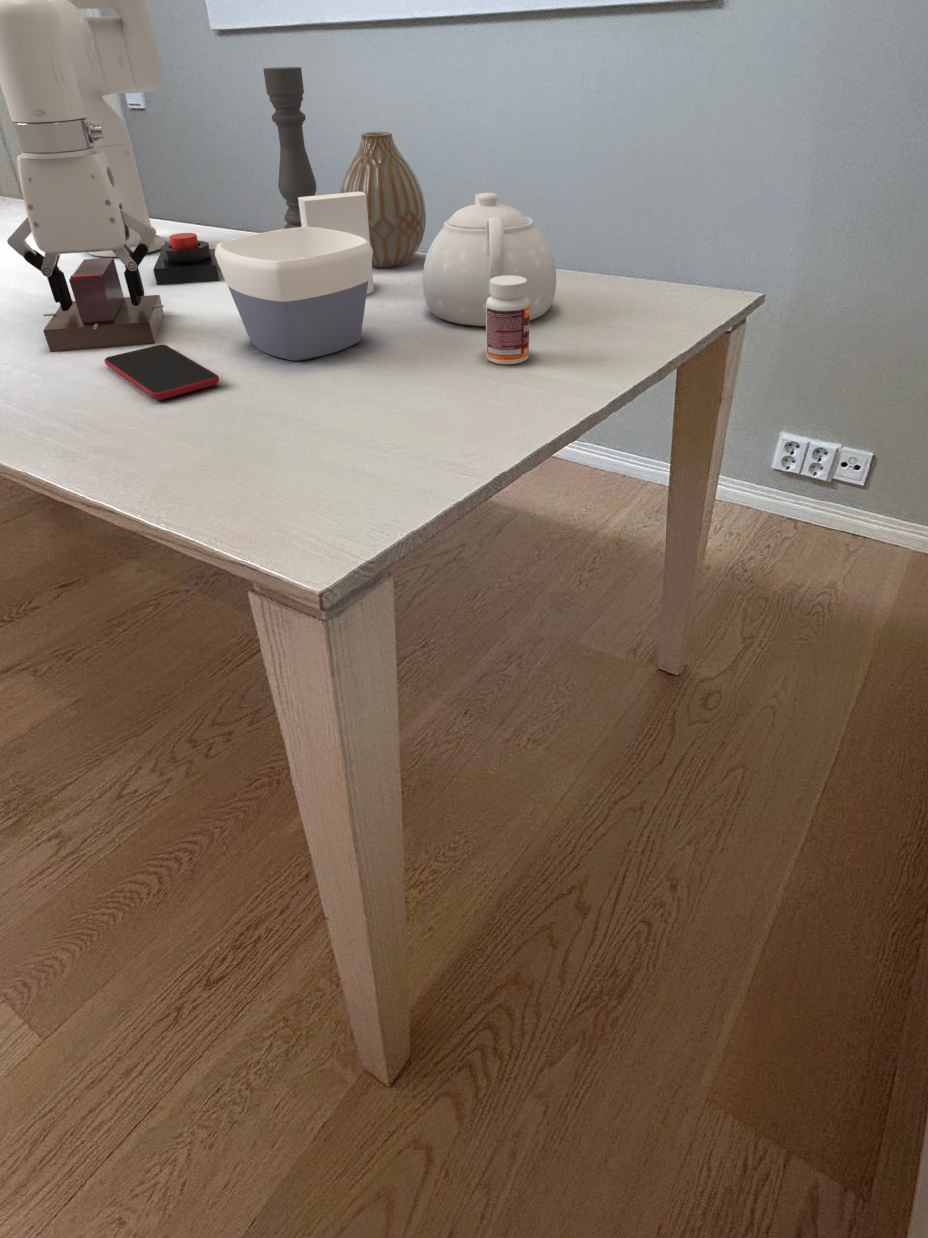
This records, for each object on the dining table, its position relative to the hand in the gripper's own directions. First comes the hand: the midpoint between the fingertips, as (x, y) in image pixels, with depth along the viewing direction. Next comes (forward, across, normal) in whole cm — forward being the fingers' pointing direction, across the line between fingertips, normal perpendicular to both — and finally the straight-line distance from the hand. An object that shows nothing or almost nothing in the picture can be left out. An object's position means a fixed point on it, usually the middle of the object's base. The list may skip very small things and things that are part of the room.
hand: (102, 304), depth 98 cm
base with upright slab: (+3, -30, -11) cm, 32 cm away
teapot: (+3, -48, +4) cm, 48 cm away
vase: (+3, -38, -25) cm, 46 cm away
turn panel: (+3, 0, 0) cm, 3 cm away
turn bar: (+1, 0, 0) cm, 1 cm away
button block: (+3, -8, -27) cm, 28 cm away
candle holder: (+3, -26, -39) cm, 47 cm away
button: (0, -8, -27) cm, 28 cm away
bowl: (+3, -24, +11) cm, 27 cm away
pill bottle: (+4, -46, +22) cm, 51 cm away
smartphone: (+3, -8, +18) cm, 20 cm away
